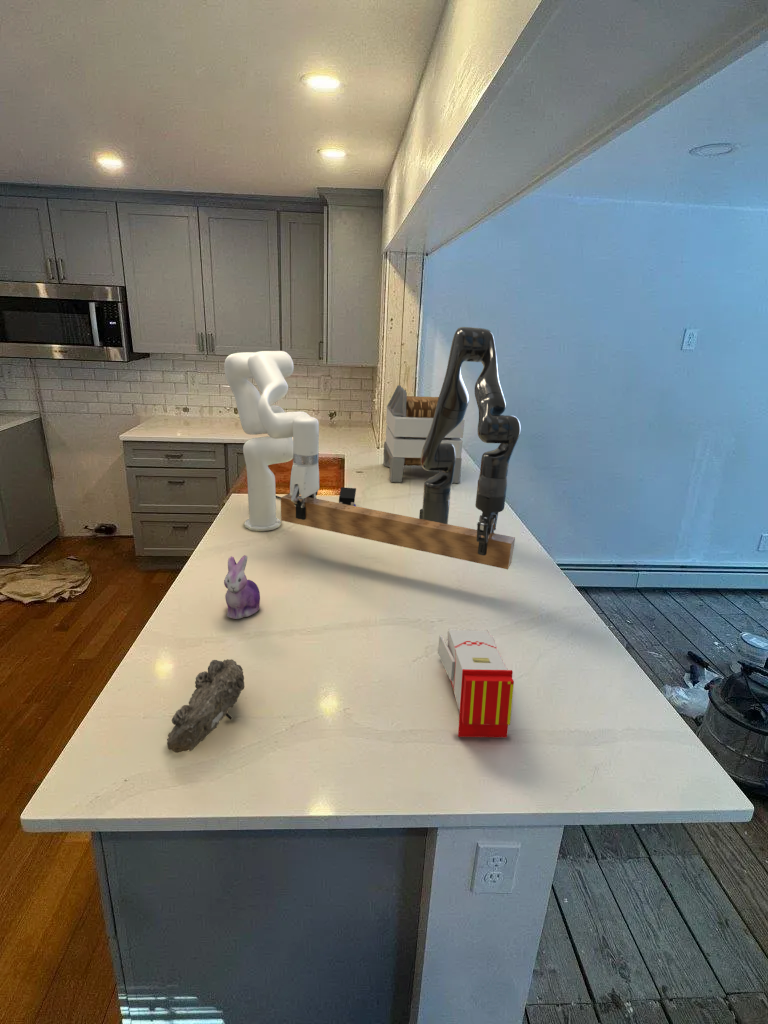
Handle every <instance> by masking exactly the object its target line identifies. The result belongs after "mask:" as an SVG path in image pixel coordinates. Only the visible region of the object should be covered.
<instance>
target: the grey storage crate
mask: <svg viewBox="0 0 768 1024" xmlns="http://www.w3.org/2000/svg"><path fill="white" fill-rule="evenodd" d="M407 394H408V393H407V390H406V389H404V388H403V387H402V385H399V384H398V385H397V386H396V388H395V390H394V392H393V394H392V395H391V398H390V400H389V402H388V404H387V405H386V413H385V414H386V415H385V423H386V428H385V438H384V442H383V466H384V467H388V468H389V475H388V476H389V477H388V478H389V480H390V482H391V483H402V482H403V475H404V469H405V466H406V467H407V466H411V467H412V466H413V467H415V466H416V467H417V466H418V467H422V465H421V453H422V449H423V446H424V443H425V441H426V438H427V436H428V433H429V431H430V428H431V425H432V421H433V418H434V414H435V409H436V405H437V402H438V398H439V396H415V395H414V396H413V395H412V396H411V395H407ZM464 429H465V419H464V418H463V420H462V421H461V423H460V424H459V425H458V426H457V427H456V428H455V429H453V430H452V431H451V432H450V433H449V434H448V435H447V436H446V437H445V438H444V439H443V440H442V442H441V443H450V444H452V445H453V446H454V448H455V454H456V458H455V467H454V473H453V481H452V484H455V483H456V484H459V483H461V472H462V461H463V460H462V453H463V442H464V441H463V440H462V439H463V438H464V431H465V430H464Z"/></svg>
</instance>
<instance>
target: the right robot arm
mask: <svg viewBox="0 0 768 1024" xmlns="http://www.w3.org/2000/svg"><path fill="white" fill-rule="evenodd" d="M464 362H471V363H481V364H482V366H483V368H482V370H481V372H480V373H479V376H478V377H477V379H476V382H475V384H474V397H475V401H476V405H477V408H478V424H477V437H478V438H479V440H480V441H481V442H483V443H485V444H498V447H497V448H495V449H491V450H488V451H485V452H484V453H482V455H481V460H480V469H479V470H480V471H479V476H478V480H477V487H476V496H475V508H476V509H477V510H479V511H480V512H482V513H481V514H480V515H479V519H478V521H477V524H476V530H477V539H476V540H477V542H479V546H478V554H479V555H484V556H485V555H486V553H487V544H488V539H489V535H490V534H491V533H495V531H496V530H497V524H498V517H499V513H501V512H503V511H504V509H505V506H506V505H505V504H506V496H507V489H508V474H509V466H510V461H511V457H512V456H513V455H512V454H513V452H514V450H515V447H516V445H517V444H518V441H519V438H520V435H521V422H520V420H519V418H517V416H515V415H511V414H510V415H509V414H508V415H507V414H504V413H505V411H506V408H507V404H506V399H505V396H504V393H503V389H502V386H501V383H500V378H499V377H500V376H499V370H498V357H497V350H496V344H495V338H494V334H493V333H492V331H491V330H490V329H487V328H481V327H472V326H471V327H470V326H459V327H458V328H457V329H456V331H455V332H454V335H453V337H452V341H451V346H450V351H449V356H448V361H447V366H446V370H445V375H444V378H443V382H442V386H441V389H440V392H439V394H438V395H439V396H438V397H439V398H438V402H437V405H436V409H435V414H434V418H433V421H432V425H431V428H430V431H429V433H428V436H427V438H426V441H425V443H424V446H423V449H422V453H421V465H422V466H421V467H422V469H423V470H424V471H428V472H437V473H436V474H435V475H433V476H431V477H428V478H427V479H425V480H424V482H423V493H422V496H423V497H422V506H421V508H420V509H419V516H418V519H423V520H428V521H434V522H439V523H444V524H449V517H450V516H449V514H450V504H451V494H452V493H451V491H452V485H453V483H452V481H453V473H454V467H455V458H456V454H455V448H454V446H453V445H452V444H450V443H441V442H442V440H443V439H444V438H445V437H446V436H447V435H448V434H449V433H450V432H451V431H452V430H453V429H455V428H456V427H457V426H458V425H459V424H460V423H461V421H462V420H463V419H464V417H465V416H466V412H467V408H468V406H469V403H470V397H469V396H470V395H469V392H468V389H467V387H466V384H465V382H464V379H463V376H462V371H461V370H462V365H463V363H464ZM281 497H282V496H278V495H276V499H280V500H281ZM481 536H484V538H482V537H481Z"/></svg>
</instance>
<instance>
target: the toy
mask: <svg viewBox="0 0 768 1024" xmlns="http://www.w3.org/2000/svg"><path fill="white" fill-rule="evenodd" d="M446 640H447V643H446V641H445V639H444V636H443V635H442V634H439V637H438V646H437V656H438V657H439V659H440V661H441V663H442V666H443V668H444V670H445V672H446V674H447V677H448V679H449V681H450V684H451V687H452V690H453V693H454V697H455V701H456V705H457V708H458V711H459V714H458V715H459V716H458V730H457V731H458V732H457V737H458V738H508V731H509V726H510V725H511V717H512V707H513V697H514V696H513V695H514V684H515V680H514V679H513V673H514V671H513V670H512V669H508V667H507V665H506V662H505V661H504V659H503V658H502V655H501V653H500V651H499V649H498V647H497V643H496V639H495V637H494V635H493V634H491V632H490V631H489V629H467V628H466V629H465V628H463V629H461V628H460V629H459V628H448V630H447V639H446Z"/></svg>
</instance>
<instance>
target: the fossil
mask: <svg viewBox="0 0 768 1024" xmlns="http://www.w3.org/2000/svg"><path fill="white" fill-rule="evenodd" d="M243 670H244V669H243V667H242V665H240V664H237V662H236V661H235V660H234V659H232V658H231V659H227V658H226V659H224V660H223V661H222V660H217V659H212V660H211V661H210V663H209V665H208V666H207V671H201V672H199V673H198V674H197V675H196V676H195V680H194V684H195V685H194V687H195V689H194V690H193V693H192V694H191V697H190V698H189V700H188V704H184V705H182V706H181V707H180V709H177V710H176V711H175V713H174V715H173V716H172V718H171V723H172V724H173V727H172V730H171V731H170V732H168V734H167V738H166V741H167V742H166V745H167V749H168V750H169V751H173V752H174V753H176V754H178V753H182V752H188V751H189V752H192V751H193V750H195V748H196V747H197V746H199V744H200V743H201V742H203V741H204V740H205V739H206V738H207V737H208V736H209V735H210V734H211V733H212V732H214V730H215V729H217V727H218V726H219V724H220V722H221V721H222V720H223V719H224V718H225V716H226V717H227V719H229V720H233V717H232V715H230V714H229V710H230V709H231V708H234V706H235V704H236V703H237V702H238V699H239V697H240V695H241V693H242V691H243V690H245V689H244V688H245V675H244V671H243Z"/></svg>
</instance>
